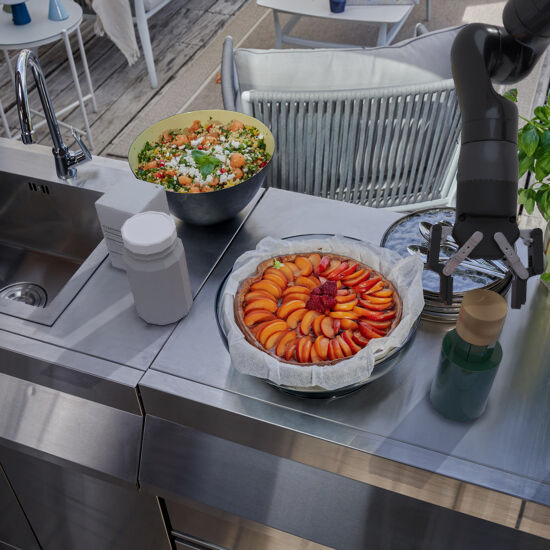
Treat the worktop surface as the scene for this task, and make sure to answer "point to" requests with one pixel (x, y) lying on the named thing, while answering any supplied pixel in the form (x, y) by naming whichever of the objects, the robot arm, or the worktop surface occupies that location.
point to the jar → (156, 268)
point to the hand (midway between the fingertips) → (481, 307)
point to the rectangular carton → (127, 210)
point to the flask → (464, 377)
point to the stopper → (481, 317)
